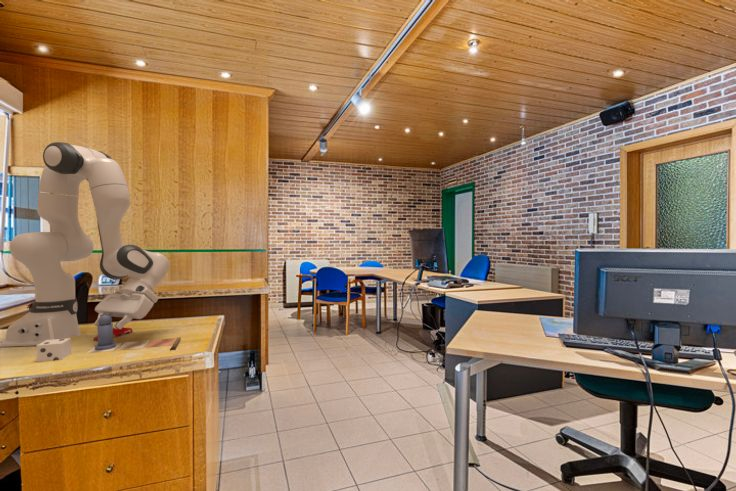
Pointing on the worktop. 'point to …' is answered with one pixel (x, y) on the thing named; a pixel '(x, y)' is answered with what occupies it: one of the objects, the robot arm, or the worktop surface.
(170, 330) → the worktop surface
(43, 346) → the die
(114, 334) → the race car
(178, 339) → the board
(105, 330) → the pawn
